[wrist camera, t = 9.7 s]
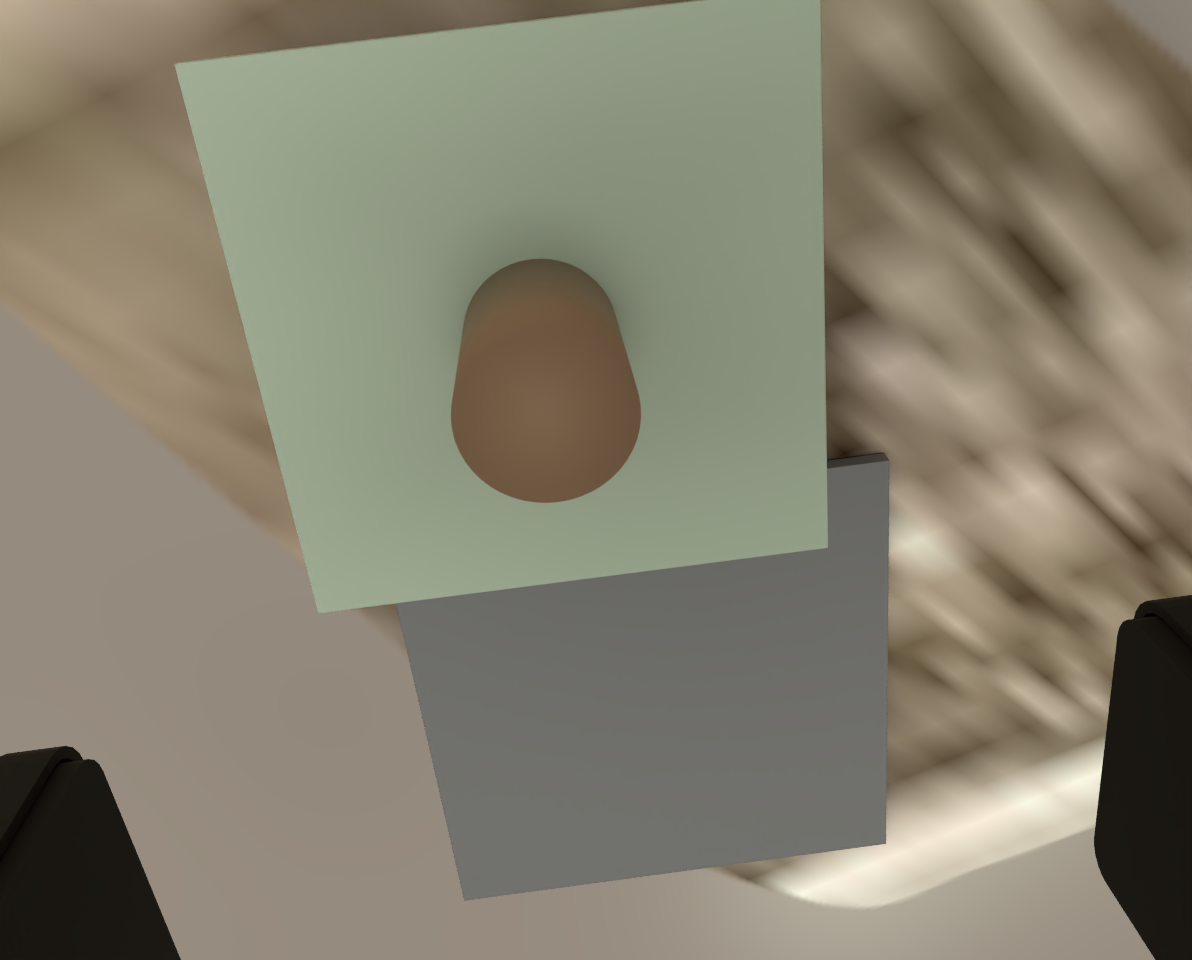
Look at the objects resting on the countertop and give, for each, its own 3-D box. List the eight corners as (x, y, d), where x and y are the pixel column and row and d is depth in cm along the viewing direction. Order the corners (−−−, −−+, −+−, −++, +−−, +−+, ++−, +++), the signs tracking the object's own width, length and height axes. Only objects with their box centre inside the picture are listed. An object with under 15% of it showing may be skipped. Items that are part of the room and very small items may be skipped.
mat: (883, 453, 36) (889, 460, 35) (881, 832, 43) (885, 843, 42) (381, 518, 35) (378, 527, 35) (464, 888, 43) (464, 900, 42)
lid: (810, -14, 22) (901, -12, 17) (819, 532, 28) (890, 662, 22) (186, 60, 22) (81, 87, 17) (323, 596, 27) (277, 742, 22)
